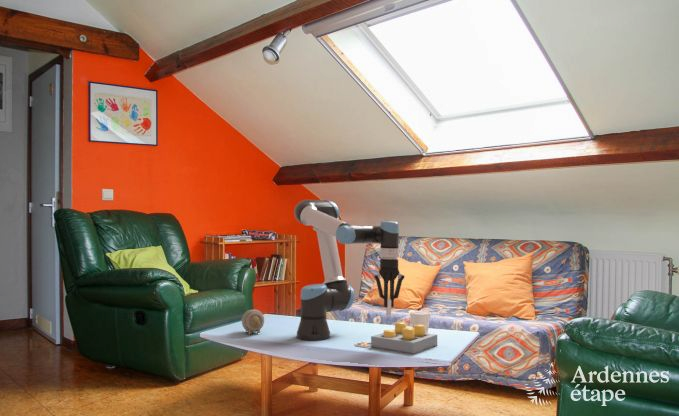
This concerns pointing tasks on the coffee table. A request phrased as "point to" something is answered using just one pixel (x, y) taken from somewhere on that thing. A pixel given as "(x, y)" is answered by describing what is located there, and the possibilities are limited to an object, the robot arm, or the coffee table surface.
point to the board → (404, 343)
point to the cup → (420, 318)
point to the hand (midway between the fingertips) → (388, 315)
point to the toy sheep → (253, 321)
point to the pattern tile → (363, 344)
